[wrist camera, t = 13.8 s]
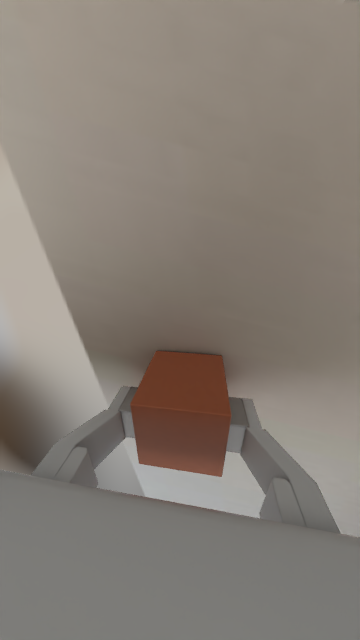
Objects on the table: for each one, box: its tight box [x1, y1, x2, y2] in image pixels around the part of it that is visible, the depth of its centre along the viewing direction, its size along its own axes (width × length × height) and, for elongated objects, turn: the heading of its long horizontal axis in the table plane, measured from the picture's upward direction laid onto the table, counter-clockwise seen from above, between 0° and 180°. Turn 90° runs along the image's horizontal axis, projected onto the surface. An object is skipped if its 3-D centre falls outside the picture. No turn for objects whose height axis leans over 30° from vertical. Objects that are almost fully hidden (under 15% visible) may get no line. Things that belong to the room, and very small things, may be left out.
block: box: [130, 351, 232, 477], centre depth 9 cm, size 4×4×4 cm
